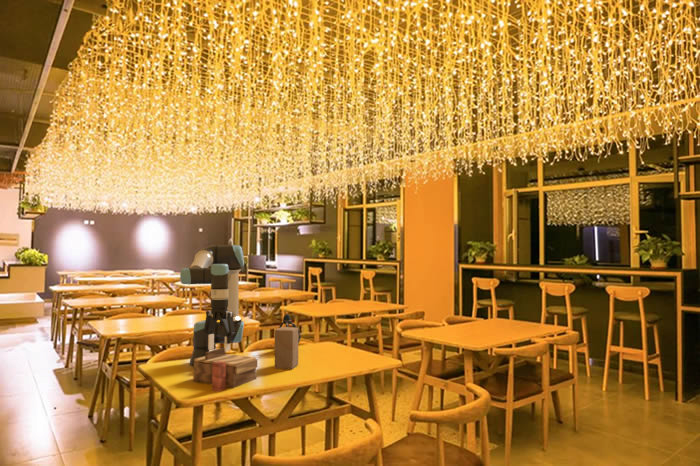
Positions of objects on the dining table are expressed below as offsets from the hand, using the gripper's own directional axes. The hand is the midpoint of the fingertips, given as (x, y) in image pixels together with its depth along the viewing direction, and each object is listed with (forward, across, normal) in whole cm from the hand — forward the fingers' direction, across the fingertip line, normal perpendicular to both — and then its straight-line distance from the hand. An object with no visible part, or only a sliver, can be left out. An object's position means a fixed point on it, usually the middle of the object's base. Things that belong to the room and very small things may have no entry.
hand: (219, 350), depth 201 cm
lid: (+12, -8, +13) cm, 19 cm away
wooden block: (+18, +4, +47) cm, 50 cm away
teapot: (+18, -20, +80) cm, 84 cm away
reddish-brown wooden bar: (+17, 0, 0) cm, 17 cm away
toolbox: (+17, -8, +13) cm, 23 cm away
